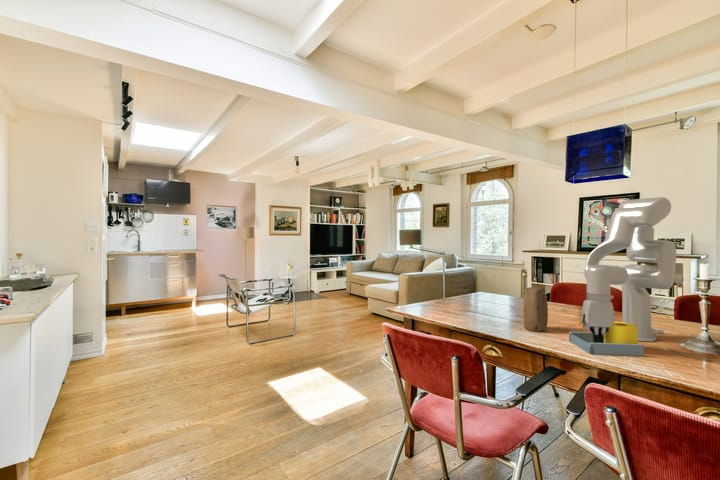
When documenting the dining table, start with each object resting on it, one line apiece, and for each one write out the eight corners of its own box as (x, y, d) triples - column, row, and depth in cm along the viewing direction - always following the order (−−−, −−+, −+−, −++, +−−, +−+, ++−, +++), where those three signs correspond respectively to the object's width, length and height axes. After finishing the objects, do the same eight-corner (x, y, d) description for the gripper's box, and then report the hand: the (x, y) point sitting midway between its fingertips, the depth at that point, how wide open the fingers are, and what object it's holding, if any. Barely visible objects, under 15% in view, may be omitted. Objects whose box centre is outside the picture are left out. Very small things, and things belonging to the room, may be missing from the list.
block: (537, 333, 146) (536, 289, 146) (521, 329, 153) (521, 287, 153) (550, 329, 152) (550, 287, 152) (534, 325, 158) (534, 285, 158)
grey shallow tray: (616, 342, 133) (616, 332, 133) (643, 356, 117) (643, 345, 117) (569, 340, 135) (569, 331, 135) (590, 354, 120) (590, 343, 120)
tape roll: (626, 345, 130) (626, 321, 130) (643, 353, 120) (644, 328, 120) (599, 343, 131) (599, 320, 131) (614, 352, 121) (614, 327, 121)
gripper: (613, 296, 129) (612, 342, 129) (572, 295, 131) (572, 340, 131) (625, 300, 121) (625, 348, 122) (582, 299, 124) (582, 346, 124)
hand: (598, 344), depth 126 cm, fingers closed
